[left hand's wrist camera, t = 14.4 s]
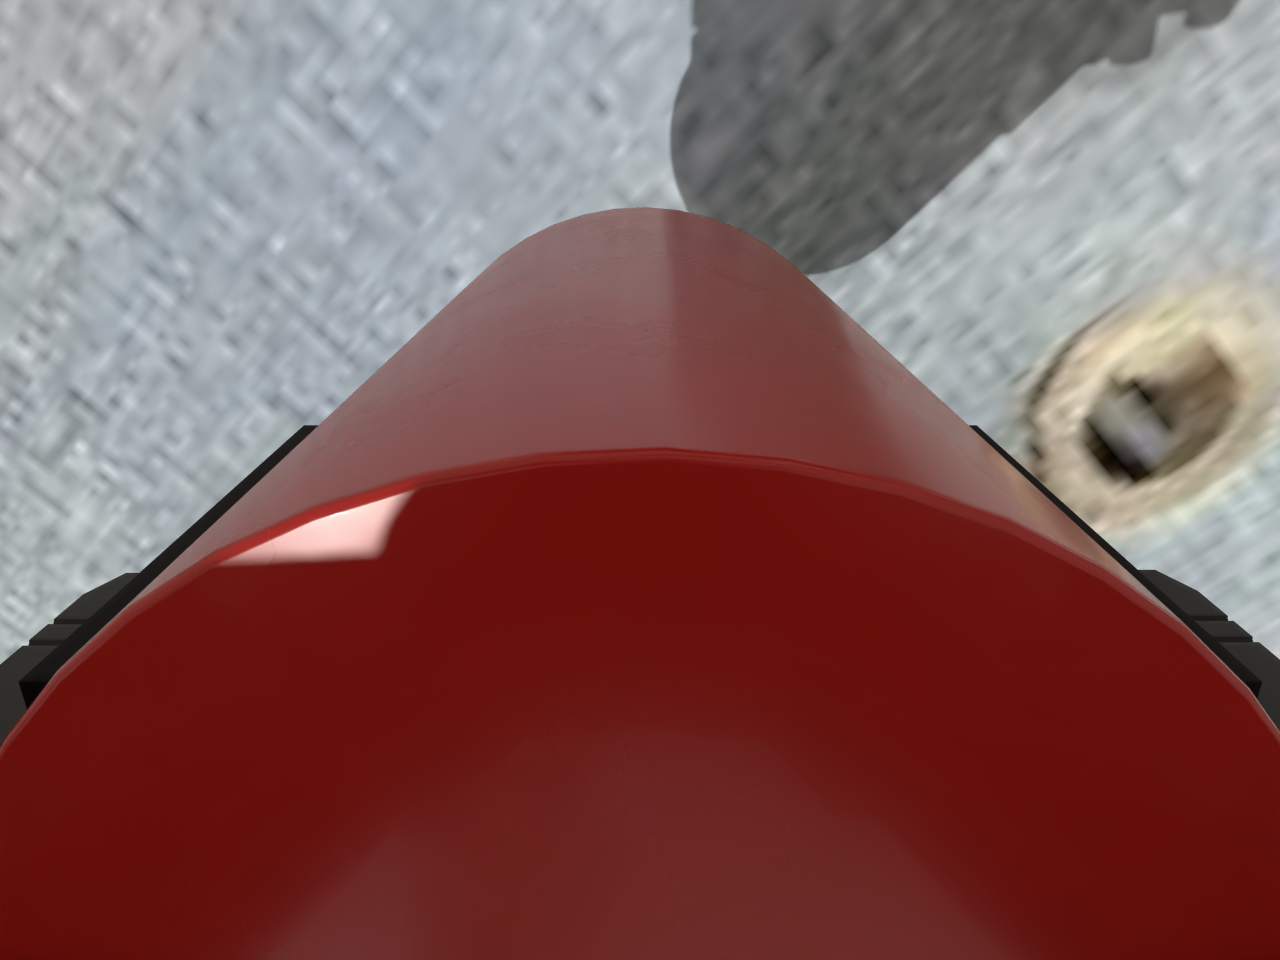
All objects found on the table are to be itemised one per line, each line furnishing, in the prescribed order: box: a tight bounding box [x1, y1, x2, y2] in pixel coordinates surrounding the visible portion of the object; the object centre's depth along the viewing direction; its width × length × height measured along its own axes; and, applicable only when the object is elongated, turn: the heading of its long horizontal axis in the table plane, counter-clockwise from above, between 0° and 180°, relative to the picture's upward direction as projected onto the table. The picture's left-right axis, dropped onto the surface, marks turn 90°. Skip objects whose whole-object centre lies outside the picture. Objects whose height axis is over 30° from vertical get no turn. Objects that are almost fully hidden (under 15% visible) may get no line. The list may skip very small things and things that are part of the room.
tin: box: [0, 207, 1280, 960], centre depth 11 cm, size 8×8×12 cm
